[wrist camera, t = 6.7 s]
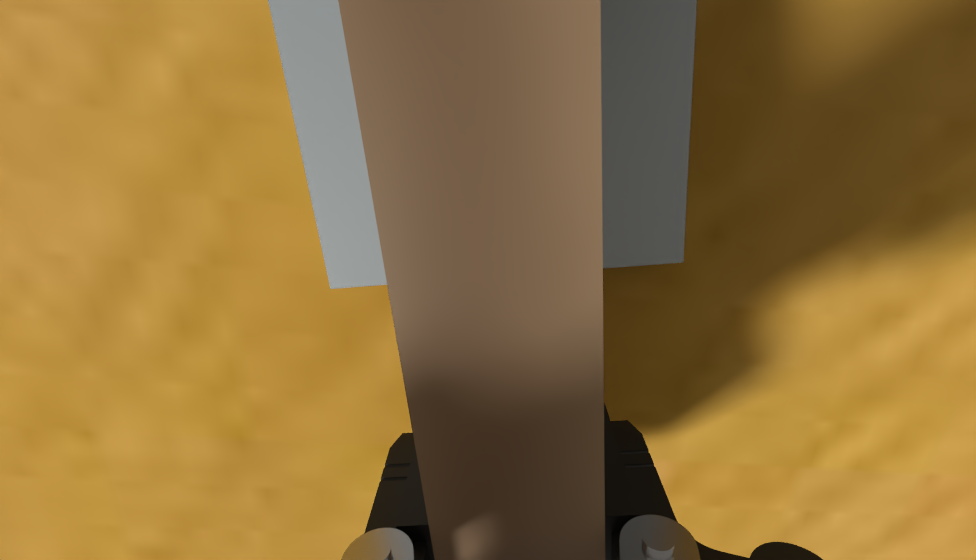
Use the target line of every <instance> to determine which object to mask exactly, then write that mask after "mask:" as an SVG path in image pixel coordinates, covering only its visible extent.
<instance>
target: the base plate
mask: <svg viewBox="0 0 976 560" xmlns="http://www.w3.org/2000/svg"><path fill="white" fill-rule="evenodd" d="M268 2H269V7H270V11H271V16H272V20H273V25H274V30H275V34H276V39H277V44H278V48H279V53H280V57H281V62H282V67H283V71H284V76H285V81H286V85H287V90H288V94H289V99H290V104H291V108H292V113H293V118H294V122H295V127H296V131H297V136H298V141H299V145H300V150H301V155H302V159H303V164H304V168H305V173H306V178H307V182H308V187H309V192H310V196H311V201H312V205H313V210H314V215H315V219H316V224H317V229H318V233H319V238H320V242H321V247H322V252H323V256H324V261H325V266H326V270H327V275H328V279H329V284H330V289H335V288H348V287H361V286H375V285H387V280H386V275H385V269H384V263H383V257H382V251H381V246H380V240H379V234H378V228H377V222H376V217H375V211H374V205H373V199H372V193H371V188H370V182H369V176H368V170H367V164H366V159H365V153H364V147H363V141H362V136H361V130H360V124H359V118H358V112H357V107H356V101H355V95H354V89H353V83H352V78H351V72H350V66H349V60H348V54H347V49H346V43H345V37H344V31H343V25H342V20H341V14H340V8H339V2H338V0H268ZM696 9H697V0H601V113H602V233H603V268H615V267H629V266H642V265H656V264H669V263H682V262H683V260H684V240H685V221H686V202H687V182H688V163H689V144H690V125H691V105H692V86H693V67H694V48H695V28H696Z"/></svg>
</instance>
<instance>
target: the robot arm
mask: <svg viewBox="0 0 976 560" xmlns="http://www.w3.org/2000/svg"><path fill="white" fill-rule="evenodd" d="M604 471H605V560H823V559H821V558H820V557H819V556H817V555H816V554H814V553H812V552H811V551H809V550H807V549H804V548H802V547H800V546H797V545H794V544H789V543H784V542H770V543H765V544H763V545H760V546H759V547H757V548H756V549H755V550H754V551H753V552H752V554H751V556H750V558H746V557H742V556H738V555H733V554H729V553H725V552H721V551H717V550H714V549H711V548H709V547H706V546H704V545H702V544H701V543H699V542H697V541H696V540H695V539H694V537H693V536H692V535H691V533H690V532H689V531H688V530H687V529H686V528H685V527H683V526H682V525H681V524H679V523H678V522H677V520H676V518H675V516H674V513H673V511H672V508H671V506H670V503H669V500H668V498H667V495H666V493H665V490H664V488H663V485H662V483H661V480H660V478H659V475H658V473H657V470H656V468H655V467H654V463H653V460H652V458H651V455H650V453H649V452H648V448H647V445H646V443H645V440H644V438H643V435H642V433H640V432H639V431H638V430H637V429H636V428H635V427H634V426H633V425H632V424H631V423H630V422H629V421H628V420H625V421H610V419H609V416H608V412H607V409H606V406H605V403H604ZM341 560H435V559H434V553H433V547H432V541H431V536H430V530H429V524H428V518H427V512H426V507H425V501H424V495H423V489H422V483H421V478H420V472H419V466H418V460H417V454H416V449H415V443H414V437H413V433H402V435H401V436H400V437H399V438H398V439H397V440H396V442H395V443H394V444H393V445H392V446H391V447H390V450H389V453H388V456H387V460H386V463H385V468H384V470H383V473H382V477H381V481H380V483H379V487H378V490H377V493H376V497H375V500H374V503H373V507H372V510H371V513H370V517H369V520H368V524H367V527H366V530H365V533H364V534H363V535H361V536H360V537H358V538H357V539H355V540H354V541H353V542H352V543H351V544H350V545H349V547H348V548H347V549H346V551H345V552H344V554H343V556H342V559H341Z"/></svg>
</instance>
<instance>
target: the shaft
mask: <svg viewBox="0 0 976 560" xmlns="http://www.w3.org/2000/svg"><path fill="white" fill-rule="evenodd" d="M338 2H339V8H340V14H341V20H342V25H343V31H344V37H345V43H346V49H347V54H348V60H349V66H350V72H351V78H352V83H353V89H354V95H355V101H356V107H357V112H358V118H359V124H360V130H361V136H362V141H363V147H364V153H365V159H366V164H367V170H368V176H369V182H370V188H371V193H372V199H373V205H374V211H375V217H376V222H377V228H378V234H379V240H380V246H381V251H382V257H383V263H384V269H385V275H386V280H387V286H388V292H389V298H390V304H391V309H392V315H393V321H394V327H395V333H396V338H397V344H398V350H399V356H400V362H401V367H402V373H403V379H404V385H405V391H406V396H407V402H408V408H409V414H410V420H411V425H412V431H413V437H414V443H415V449H416V454H417V460H418V466H419V472H420V478H421V483H422V489H423V495H424V501H425V507H426V512H427V518H428V524H429V530H430V536H431V541H432V547H433V553H434V559H435V560H605V471H604V352H603V233H602V113H601V0H338Z"/></svg>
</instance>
